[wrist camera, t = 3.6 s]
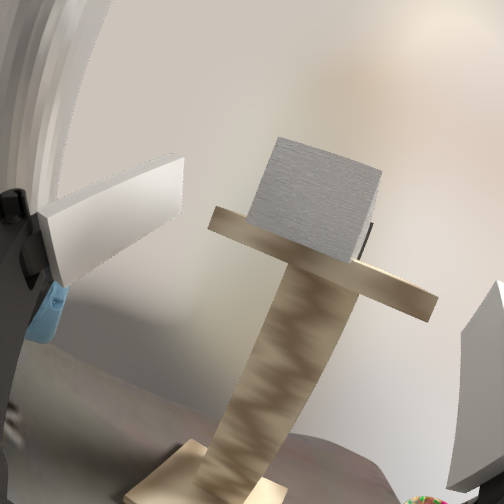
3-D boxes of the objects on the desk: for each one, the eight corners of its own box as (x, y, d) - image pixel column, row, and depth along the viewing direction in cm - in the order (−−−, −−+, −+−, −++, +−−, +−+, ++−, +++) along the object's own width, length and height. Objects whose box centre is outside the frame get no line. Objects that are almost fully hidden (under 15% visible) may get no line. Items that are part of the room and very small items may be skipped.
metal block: (355, 267, 9) (395, 156, 9) (238, 219, 10) (277, 119, 10) (359, 260, 30) (372, 225, 30) (321, 244, 31) (335, 210, 31)
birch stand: (122, 501, 23) (216, 205, 20) (188, 445, 36) (276, 226, 33) (244, 571, 19) (438, 297, 15) (283, 495, 32) (405, 279, 28)
